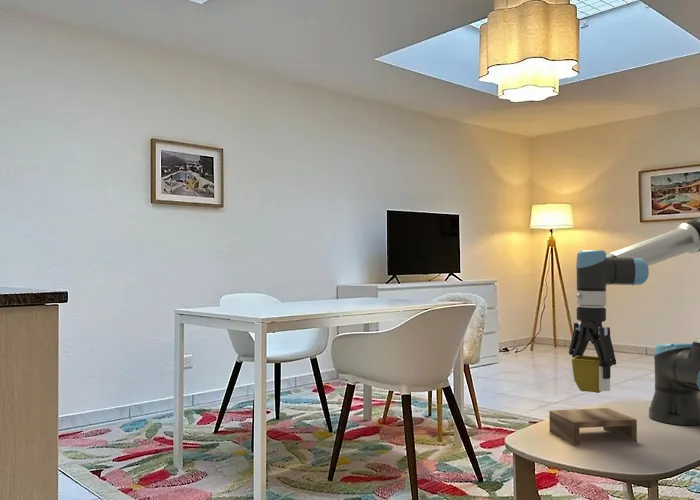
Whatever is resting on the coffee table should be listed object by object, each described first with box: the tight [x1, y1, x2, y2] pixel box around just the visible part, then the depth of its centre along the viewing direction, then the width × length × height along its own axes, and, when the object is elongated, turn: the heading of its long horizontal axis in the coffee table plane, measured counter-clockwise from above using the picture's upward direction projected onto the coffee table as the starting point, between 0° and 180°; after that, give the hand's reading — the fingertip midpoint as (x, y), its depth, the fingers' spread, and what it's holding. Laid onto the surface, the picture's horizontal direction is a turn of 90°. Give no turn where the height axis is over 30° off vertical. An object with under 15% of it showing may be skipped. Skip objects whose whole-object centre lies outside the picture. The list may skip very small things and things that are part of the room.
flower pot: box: [571, 355, 602, 394], centre depth 168 cm, size 9×9×9 cm
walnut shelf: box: [548, 407, 638, 447], centre depth 168 cm, size 18×13×6 cm
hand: (591, 386), depth 168 cm, fingers closed on flower pot, 12 cm apart
